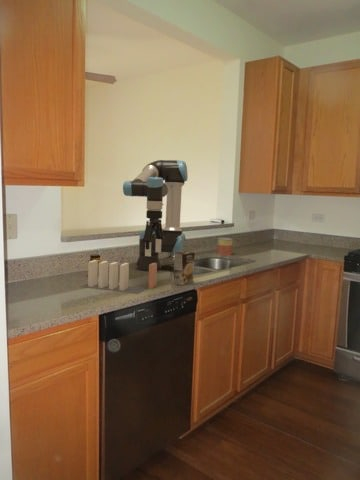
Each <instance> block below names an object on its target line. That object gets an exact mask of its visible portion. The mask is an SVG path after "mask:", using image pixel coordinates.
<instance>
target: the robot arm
mask: <svg viewBox="0 0 360 480" xmlns="http://www.w3.org/2000/svg"><path fill="white" fill-rule="evenodd" d="M188 178H189V176H188V166H187V163H186V161H184V160H178V159H175V160H173V159H172V160H171V159H169V160H168V159H167V160H166V159H164V160H163V159H158V160H154V161H152V162H150V163H148V164H146V165H145V166H144V167H143V168H142V171H141V172H140V173H139V174H138V175H137V176H136V177H135V178H134V179H133V180H127V181H124V182H123V185H122V192H123V195H124V196H127V197H141V198H143V197H144V198H146V218H147V219H149V220H146V223H145V228H144V229H145V230H142V231H141V232H140V233H139V238H138V240H139V243H138V244H139V246H138V247H139V248H138V251H139V252H138V253H139V254H138V258H137V261H136V264H135V269H136V270H139V271H146V272H149V265H150V264H152V263H157V271H160V270H162V264H161V259H160V257H159V253H168V254H169V253H171V254H175V253H177V252H183V251H182V250H183V247H184V243H185V237H186V236H185V233H183V229H182V228H181V210H182V190H183V189H182V188H183V186H184V185H185V182H187V181H188ZM164 197H166V206H165V226H164V228H163V226H162V218H163V206H164V203H163V202H164V201H163V200H164V199H163V198H164Z"/></svg>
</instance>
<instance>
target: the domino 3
mask: <svg viewBox="0 0 360 480" xmlns="http://www.w3.org/2000/svg"><path fill="white" fill-rule="evenodd" d="M108 284H109V289H114V288H116V287H118V285H119V261H113V262H110V263H108Z"/></svg>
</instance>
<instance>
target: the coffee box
mask: <svg viewBox="0 0 360 480" xmlns="http://www.w3.org/2000/svg"><path fill="white" fill-rule="evenodd" d="M173 264H174V265H173V282H172V283H173V284H175V285H180V286H185V285H190V284H193V283H194V275H195V274H194V273H195V252H192V251H187V250H185V251H181V252H177V253H174V263H173Z"/></svg>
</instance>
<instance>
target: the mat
mask: <svg viewBox="0 0 360 480" xmlns="http://www.w3.org/2000/svg"><path fill="white" fill-rule="evenodd" d="M119 287H120V284H118V287H116V288H114V289H109V283H108V286H106V287H103V288H98V284H97V285H95V286H93V287H88V283H86V284H84V285H81V286H80V288H85V289H93V290H102V291H111V292H116V293H118V292H119V293H126V294H135V295H139V294H141V293H143V292H144V291H146V290H148V288H145V287H140V286H130V285H128V288H127V289H125V290H124V291H120V290H119Z"/></svg>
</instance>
